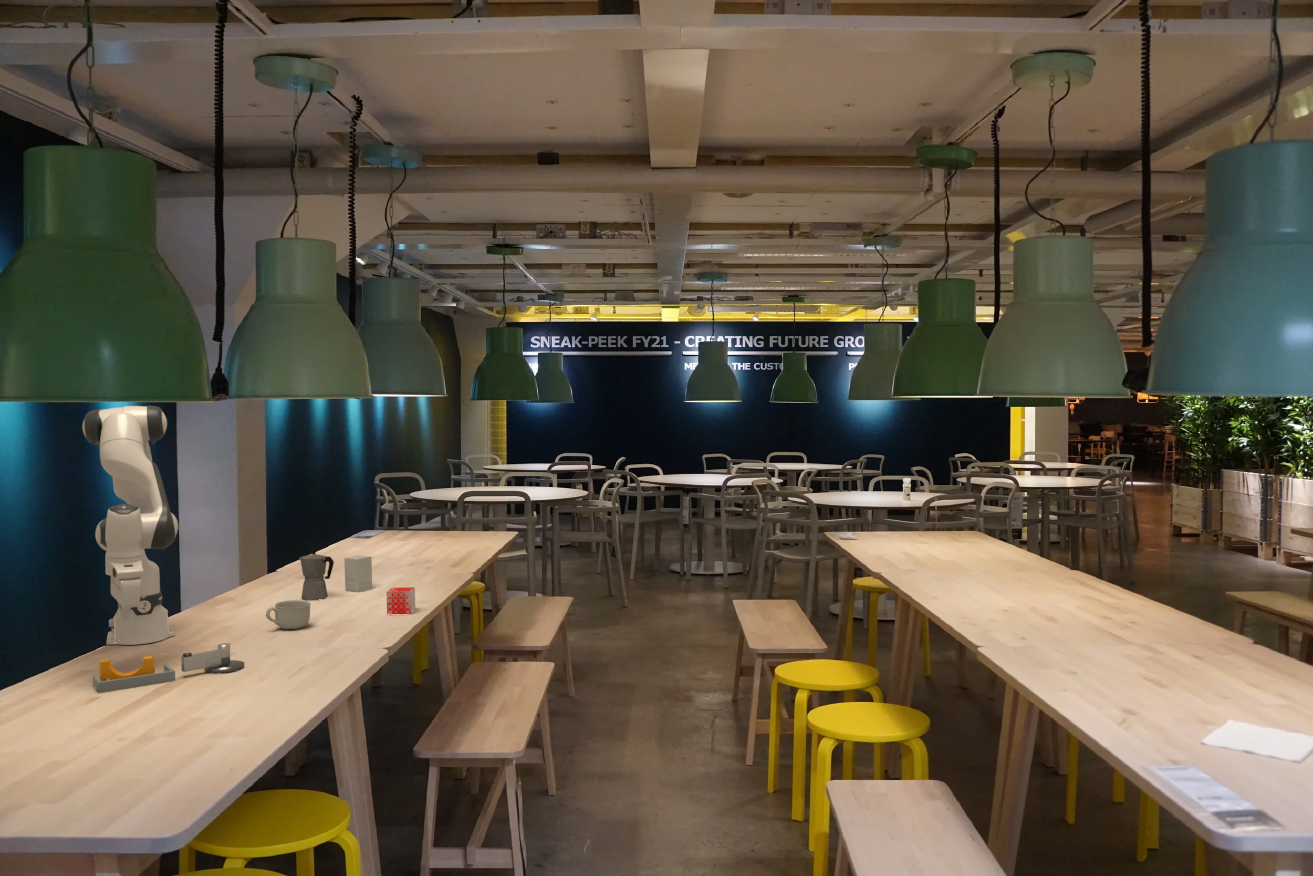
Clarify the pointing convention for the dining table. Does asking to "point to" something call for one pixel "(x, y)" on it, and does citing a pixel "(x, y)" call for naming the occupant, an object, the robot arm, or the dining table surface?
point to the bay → (135, 680)
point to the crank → (206, 658)
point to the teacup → (290, 614)
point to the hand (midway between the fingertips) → (124, 618)
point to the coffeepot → (315, 575)
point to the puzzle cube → (401, 600)
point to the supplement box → (358, 573)
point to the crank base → (226, 667)
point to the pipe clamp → (113, 674)
